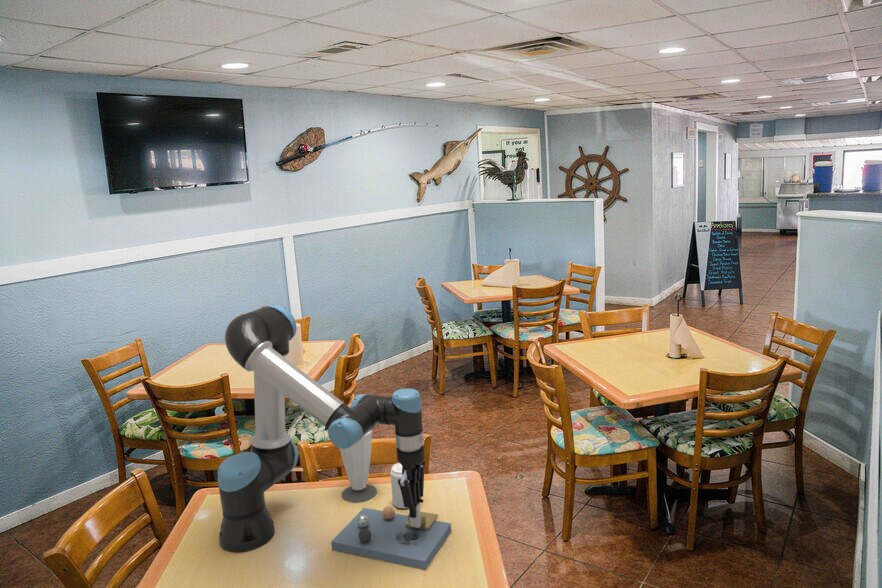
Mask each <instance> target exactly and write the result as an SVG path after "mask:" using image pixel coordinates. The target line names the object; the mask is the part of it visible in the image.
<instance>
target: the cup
mask: <svg viewBox="0 0 882 588" xmlns="http://www.w3.org/2000/svg"><path fill="white" fill-rule="evenodd" d="M372 434H373V429H372V430H371V431H369V432H368V433H367V434H366V435H365V436H363V437H362V438H361V440H359V441H358V442H357V443H355V444H354V445H352V446H351V447H349V448H345V449H342V448H339V452H340V454H341V459H342V463H343V466H344V469H345V473H346V476H347V478H348V481H349V485H350V486H348V487H346V488H345V489H344V490H343V491H342V492H341V497H342V499H343V500H344V501H346V502H347V503H348V502H349V503H354V504H355V503H363V502H366V501H369V500H371V499H372V498H373V499H374V498H375V496H376V495H377V493H378V488H377V487H375V485H373V484H370V483H368V479H369V473H370V467H371V458H372V457H371V456H372V439H373V437H372V436H373V435H372Z"/></svg>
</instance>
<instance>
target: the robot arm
mask: <svg viewBox="0 0 882 588" xmlns="http://www.w3.org/2000/svg"><path fill="white" fill-rule="evenodd" d="M297 326H298V325H297V322H296V319H295V317H294V316H293V314H292V313H291V312H290V310H288V308H286V307H284V306H282V305H279V304H271V305H265V306H262V307H260V308H258V309H255V310H253V311H249V312H247V313H243V314H240V315H238V316H236V317H235V318H233V319H232V320H231V321H230V322H229V324H228V325H227V327H226V330H225V334H224V335H225V336H224V341H225V346H226V349H227V351H228V353H229V355H230V357H232V359H233V360H234V362H236V363H237V364H238V365H239V366H240V367H241V368H243V369H244V370H245V371H246V372H253V385H254V386H253V391H254V392H253V393H254V395H253V396H254V418H255V419H254V421H255V425H254V427H255V428H254V429H255V434H254V435H252V437H251V439H250V451H242V452H238V453H237V454H233V455H230V456H229V457H227V458H226V459H224V460H223V461H222V462H221V463H220V465H219V466H218V469H217V485H218V492H219V497H220V498H219V499H220V505H221V510H222V521H221V525H220V530H219V534H218V538H219V546H220V547H221V548H222V549H223V550H225V551H227V552H231V553H242V552H248V551H252V550H255V549H258V548H260V547H262V546H264V545H265V544H267V543H268V542H269V541H270V540H272V539H273V537H274V535H275V532H276V529H275V523H274V520H273V519H272V517H271V515H270V513H269V511H268V509H267V507H266V499H265V492H266V491H268V490H269V489H271V487H273V486H274V485H276V484H277V483H279V481H281V480H282V479H283V478H285V477H287V475H289V474H290V473H291V471H292V470H294V469H295V467H296V466H297V463H298V460H299V450H298V446H297V445H296V444H294V443H295V441H294V440H293V439H292V438H291V437H292V436H291V435H290V433H288V432H286V404H285V403H286V401H285V400H286V399H285V397H286V398H288V399H289V400H291V401H292V402H293V403H294V404H296V405H297V406H298V407H299V408H301V409H302V410H303V411H305V412H306V413H307V414H309V415H310V416H311V417H312V418H313V419H315V420H317V422H319V423H320V424H321V425H323V426H324V427H325V428H327V436H328V439H330V441H331V444H332V445H333V446H335V447H336V448H339V449H340V448H342V449H345V448H349V447H351V446H352V445H354V444H355V443H357V442H358V441H359V440H361V438H362V437H363V436H365V435H366V434H367V433H368V432H369V431H371V430H372V431H373V429H374V428H375V427H377V426H378V425H384V426H385V425H387V426H394V435H395V447H396V448H395V449H396V460H397V463H400V464H401V465H402V474H403V476H402V479H399V480H398V484H399V486H400V489H401V494H402V498H403V503H404V507H407V508H406V509H408V511H409V512H408V514H409V516H410V526H412V527H417V528H419V527H420V526H421V513H420V511H421V503H422V504H423V503H424V499H422V498H423V497H424V488H425V487H424V485H425V482H424V481H425V466H426V461H425V458H426V455H425V446H424V444H425V443H424V442H425V436H424V427H423V410H422V409H423V405H422V400H421V395H420V392H419V391H418V390H417V389H414V388H400V389H397V390H395V391H394V392H393V393H392V396H387V395H380V394H379V395H378V394H377V395H376V394H371V393H366V394H363V393H362V394H361V393H360V394H357V395H356V396H355V397H354V398H353V400H352V402H351V404H350V406H349V405H348V404H346V403H345V402H343V401H342V400H341V399H339V398H338V397H337V396H336V395H334V394H333V393H331V392H330V390H328V389H327V388H325V387H324V386H322V384H320V383H318V382H317V381H316V380H315V379H314V378H312V377H311V376H310V375H308V374H307V373H305V372H304V371H303V370H302V369H300V367H298V366H297V365H295V364H294V363H293V362H291V361H290V360H289V359H287V358H286V357H287V356H288V355H289V354H290V341H291V340H292V339H294V337H295V336H296V333H297Z"/></svg>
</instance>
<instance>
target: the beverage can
mask: <svg viewBox="0 0 882 588" xmlns="http://www.w3.org/2000/svg"><path fill="white" fill-rule="evenodd" d="M402 476H403V474H402V465H401V464H400V463H399V462H397V463H394V464H393V465H392V466H391V470H390V486H391V497H392V504H393V506H395V507H396V508H398V509H408V508H407V507H404V503H403V498H402V494H401V489H400V486H399V484H398V480H399V479H402Z"/></svg>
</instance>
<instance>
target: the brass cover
mask: <svg viewBox="0 0 882 588" xmlns="http://www.w3.org/2000/svg"><path fill="white" fill-rule="evenodd" d="M420 513H421V526H420V527H419V528H418V529H423V530H429V529H430V528H431V526H432V525H433V524H434V522H435V521H437V519H439V514H437V513H433V512H432V513H431V512H428V511H427V512H426V511H421V510H420ZM407 515H408V521H407V522H406V526H407V527H412V526H410V516H409V513H408V514H407ZM413 528H417V527H413Z"/></svg>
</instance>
